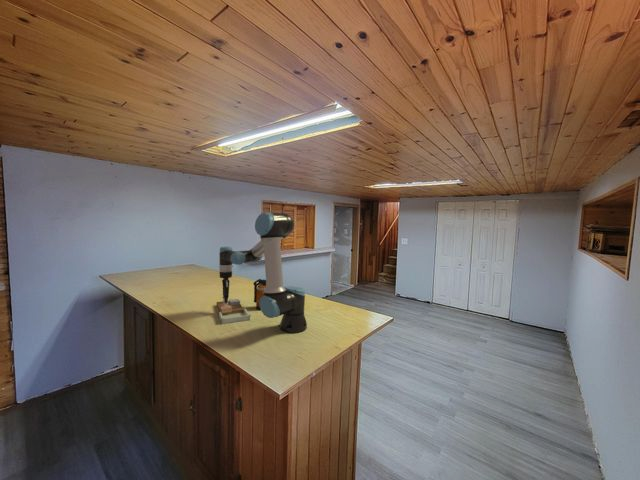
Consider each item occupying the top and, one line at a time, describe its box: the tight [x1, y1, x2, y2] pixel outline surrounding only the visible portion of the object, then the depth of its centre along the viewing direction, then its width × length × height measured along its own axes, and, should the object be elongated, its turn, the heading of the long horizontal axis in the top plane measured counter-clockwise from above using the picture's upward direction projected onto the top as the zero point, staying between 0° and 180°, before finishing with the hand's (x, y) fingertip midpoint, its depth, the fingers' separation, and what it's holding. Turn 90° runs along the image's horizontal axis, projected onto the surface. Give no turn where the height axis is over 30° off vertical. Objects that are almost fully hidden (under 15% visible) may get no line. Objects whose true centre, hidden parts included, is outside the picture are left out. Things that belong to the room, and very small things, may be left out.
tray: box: [218, 308, 251, 325], centre depth 162 cm, size 13×16×3 cm
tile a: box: [220, 305, 232, 313], centre depth 167 cm, size 6×6×2 cm
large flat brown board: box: [216, 300, 245, 315], centre depth 178 cm, size 22×14×2 cm, turn 27°
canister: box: [253, 278, 266, 311], centre depth 182 cm, size 9×11×20 cm
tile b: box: [228, 298, 241, 306], centre depth 181 cm, size 6×6×2 cm
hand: (225, 307), depth 171 cm, fingers closed
